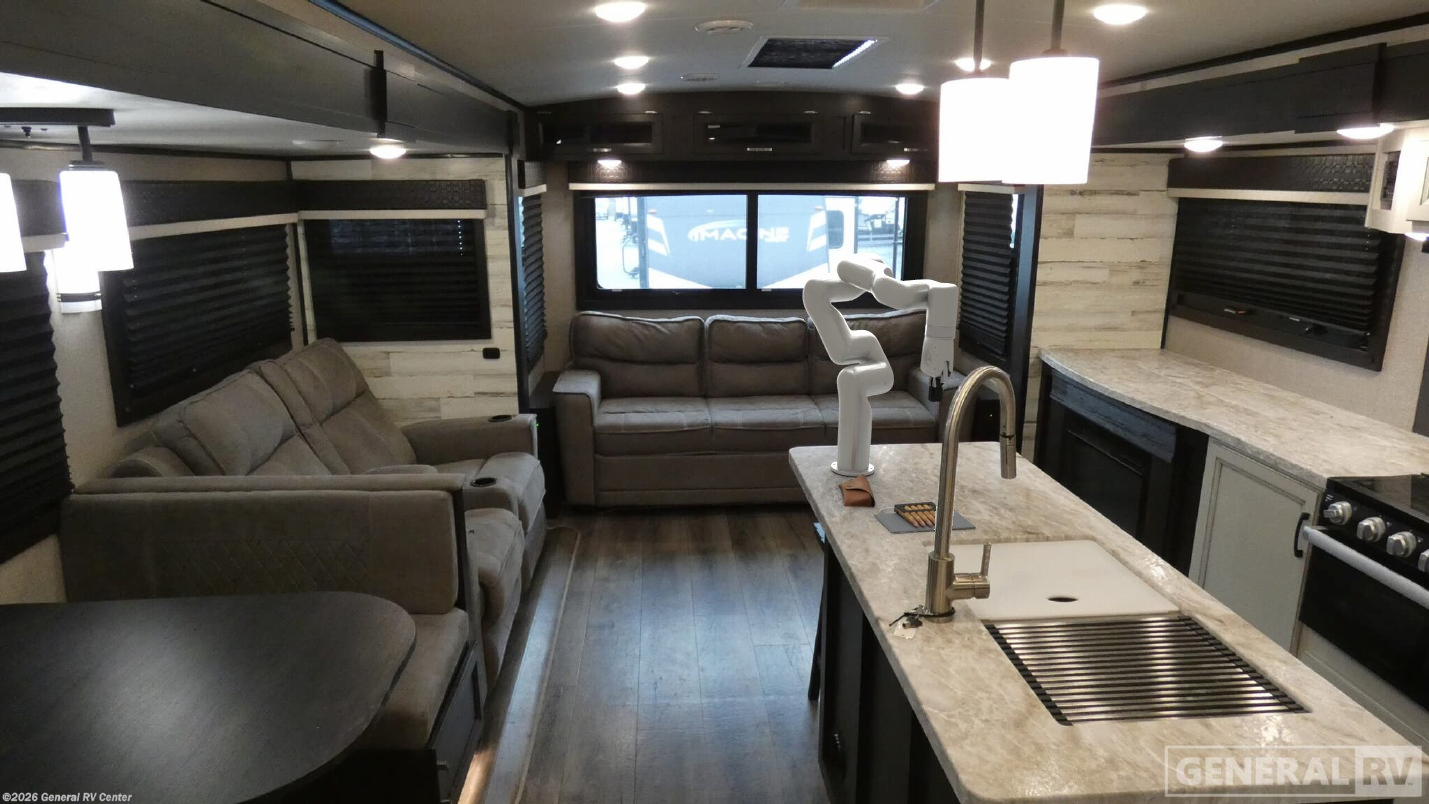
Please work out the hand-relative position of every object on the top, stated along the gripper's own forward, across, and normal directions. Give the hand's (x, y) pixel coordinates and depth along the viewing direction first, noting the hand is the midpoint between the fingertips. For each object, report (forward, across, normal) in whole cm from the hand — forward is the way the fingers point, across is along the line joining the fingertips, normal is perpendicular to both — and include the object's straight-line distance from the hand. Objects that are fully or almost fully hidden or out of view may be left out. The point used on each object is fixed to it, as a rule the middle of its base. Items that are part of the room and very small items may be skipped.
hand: (934, 400), depth 235 cm
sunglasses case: (+28, -5, -18) cm, 34 cm away
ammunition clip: (+26, +9, -8) cm, 28 cm away
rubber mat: (+27, +16, -8) cm, 32 cm away
